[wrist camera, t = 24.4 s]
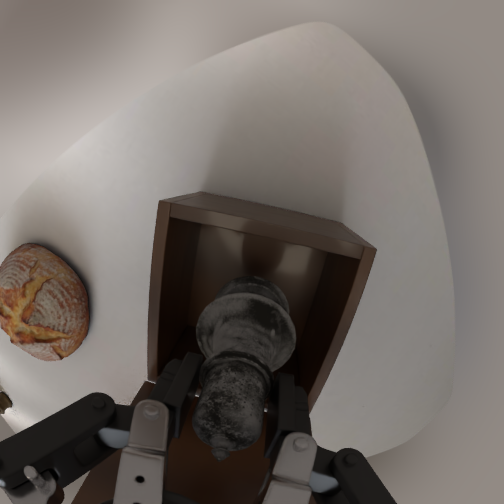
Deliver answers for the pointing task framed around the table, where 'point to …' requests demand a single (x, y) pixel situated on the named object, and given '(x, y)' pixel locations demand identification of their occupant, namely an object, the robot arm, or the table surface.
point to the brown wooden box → (259, 265)
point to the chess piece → (240, 361)
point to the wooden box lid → (191, 468)
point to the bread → (42, 303)
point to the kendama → (4, 403)
